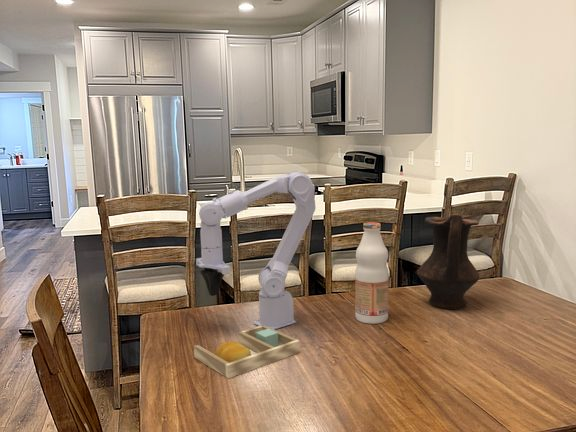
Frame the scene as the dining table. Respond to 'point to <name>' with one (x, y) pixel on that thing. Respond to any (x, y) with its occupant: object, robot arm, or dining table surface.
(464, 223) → the jug
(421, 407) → the dining table surface
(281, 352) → the organiser frame
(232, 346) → the bread roll
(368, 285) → the fruit juice
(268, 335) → the teal block
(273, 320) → the robot arm
